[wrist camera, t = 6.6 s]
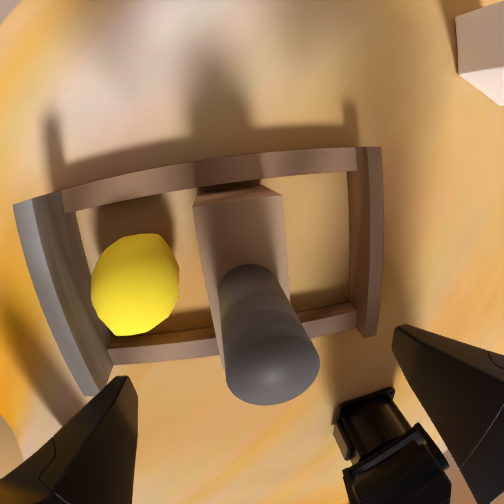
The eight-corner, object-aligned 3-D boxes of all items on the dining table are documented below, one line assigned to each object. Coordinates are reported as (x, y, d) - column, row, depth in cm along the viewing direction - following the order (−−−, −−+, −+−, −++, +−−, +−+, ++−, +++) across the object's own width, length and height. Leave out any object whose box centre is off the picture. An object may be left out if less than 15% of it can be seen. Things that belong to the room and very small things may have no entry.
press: (358, 147, 18) (400, 147, 14) (359, 315, 22) (389, 349, 18) (53, 192, 16) (12, 204, 12) (102, 354, 20) (84, 395, 16)
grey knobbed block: (262, 185, 18) (335, 223, 7) (274, 313, 21) (327, 436, 10) (197, 193, 18) (178, 246, 7) (219, 322, 20) (232, 455, 10)
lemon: (127, 210, 18) (105, 216, 13) (198, 247, 20) (202, 266, 14) (90, 300, 19) (63, 331, 13) (156, 333, 20) (148, 373, 15)
